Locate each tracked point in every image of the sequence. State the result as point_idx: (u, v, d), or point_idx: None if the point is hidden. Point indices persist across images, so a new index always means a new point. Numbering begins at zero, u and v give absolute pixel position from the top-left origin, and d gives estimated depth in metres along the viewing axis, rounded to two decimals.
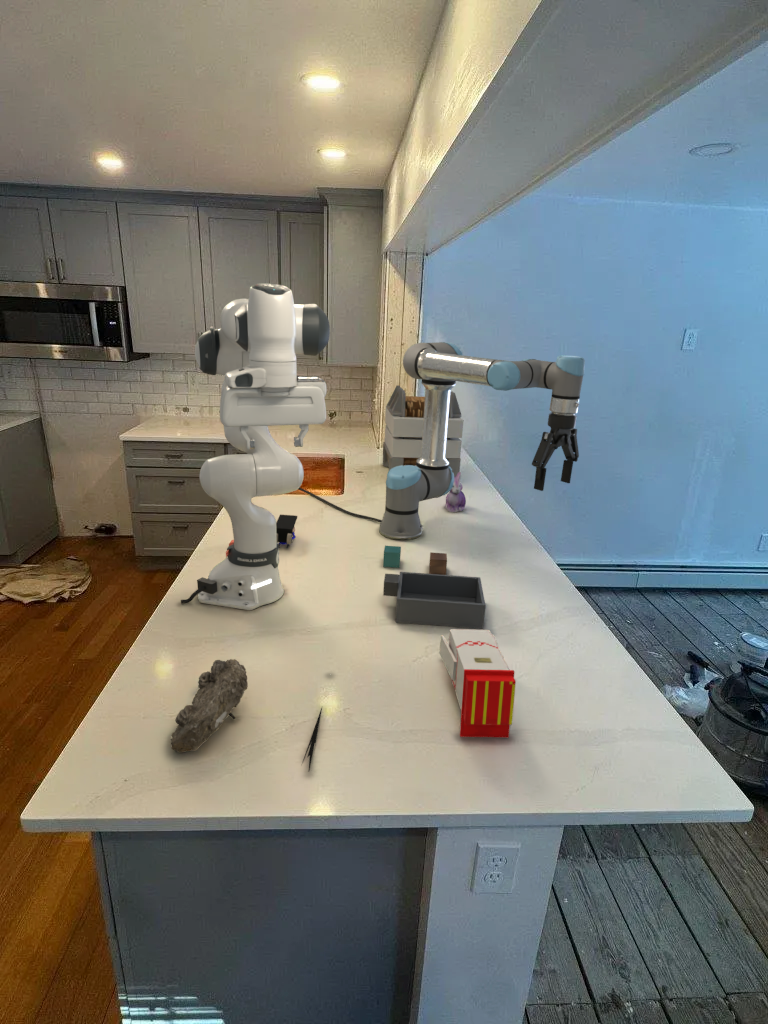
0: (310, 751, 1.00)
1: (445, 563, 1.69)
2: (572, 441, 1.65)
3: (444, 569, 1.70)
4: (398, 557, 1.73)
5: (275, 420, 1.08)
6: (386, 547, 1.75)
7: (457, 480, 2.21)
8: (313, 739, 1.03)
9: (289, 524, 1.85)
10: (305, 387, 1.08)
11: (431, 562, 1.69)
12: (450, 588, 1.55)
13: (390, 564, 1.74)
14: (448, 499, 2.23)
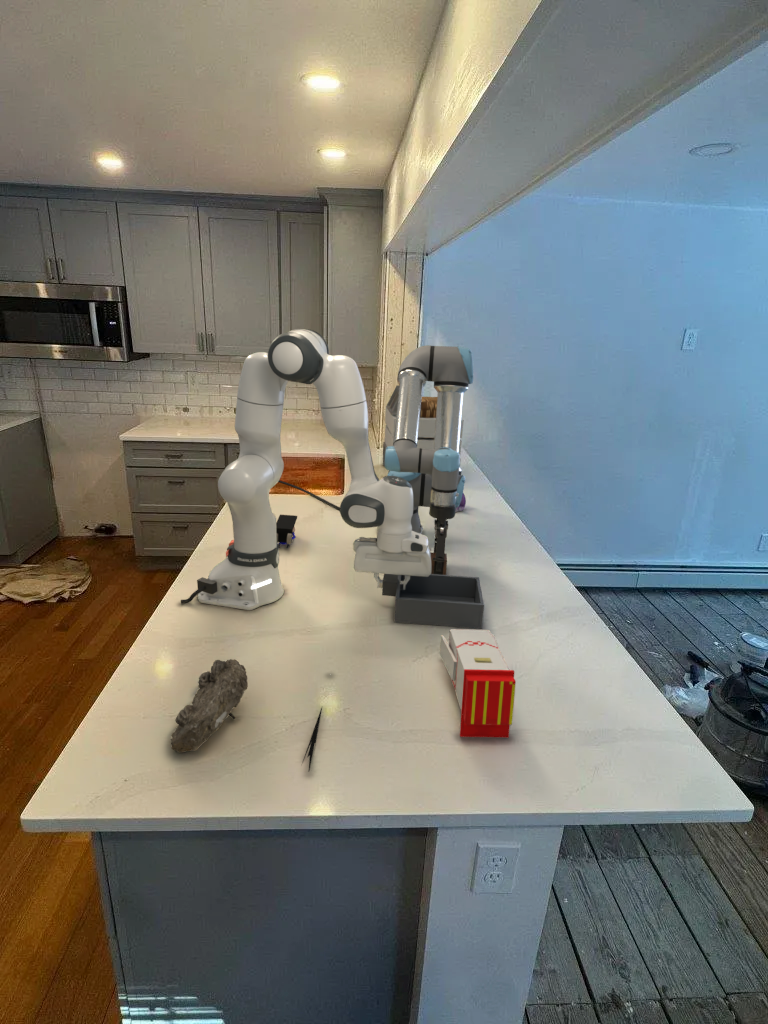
0: (310, 751, 1.00)
1: (445, 563, 1.69)
2: None
3: (444, 569, 1.70)
4: None
5: None
6: None
7: None
8: (313, 739, 1.03)
9: (289, 524, 1.85)
10: None
11: (431, 562, 1.69)
12: (449, 588, 1.56)
13: None
14: None
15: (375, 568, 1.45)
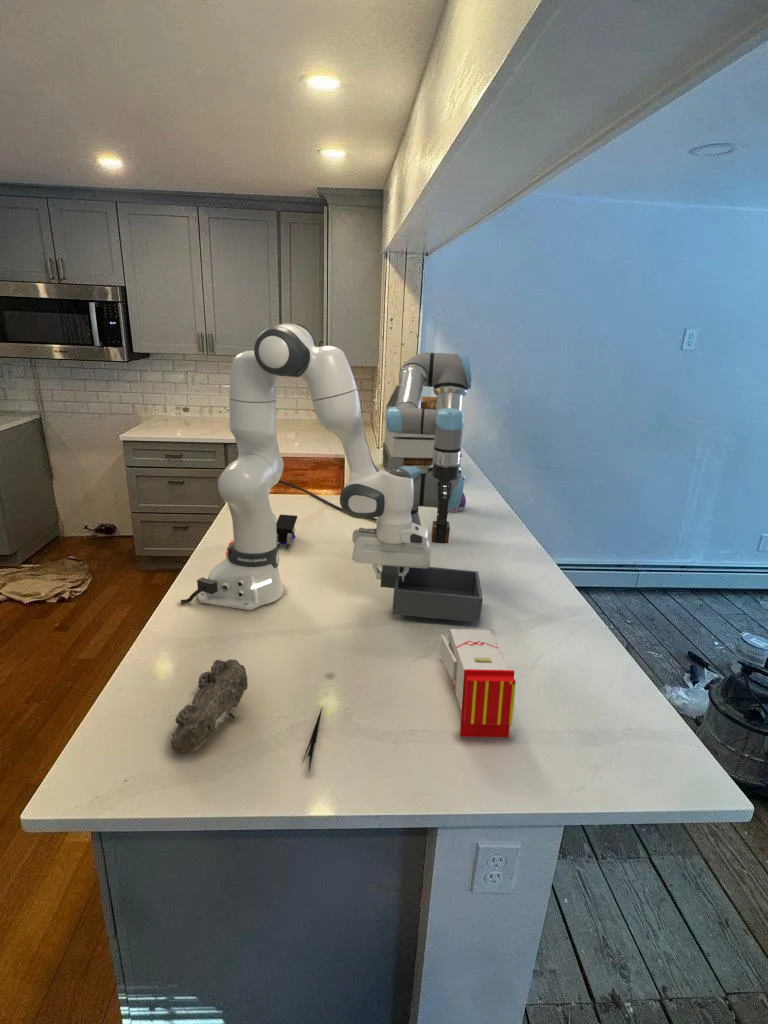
0: (310, 751, 1.00)
1: (448, 531, 1.66)
2: None
3: (447, 537, 1.67)
4: None
5: None
6: None
7: None
8: (313, 739, 1.03)
9: (289, 524, 1.85)
10: None
11: (433, 530, 1.66)
12: (447, 581, 1.55)
13: None
14: None
15: (374, 559, 1.45)
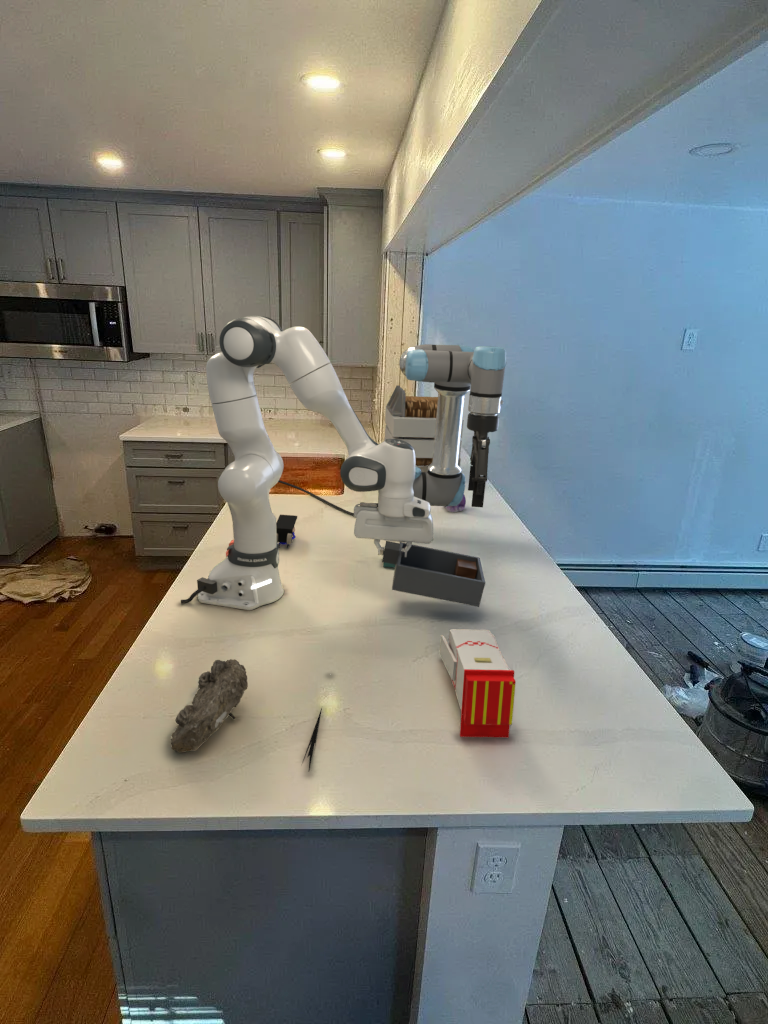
0: (310, 751, 1.00)
1: (474, 573, 1.47)
2: None
3: None
4: None
5: None
6: None
7: None
8: (313, 739, 1.03)
9: (289, 524, 1.85)
10: None
11: (459, 570, 1.47)
12: (448, 565, 1.53)
13: (390, 564, 1.74)
14: None
15: (376, 534, 1.42)
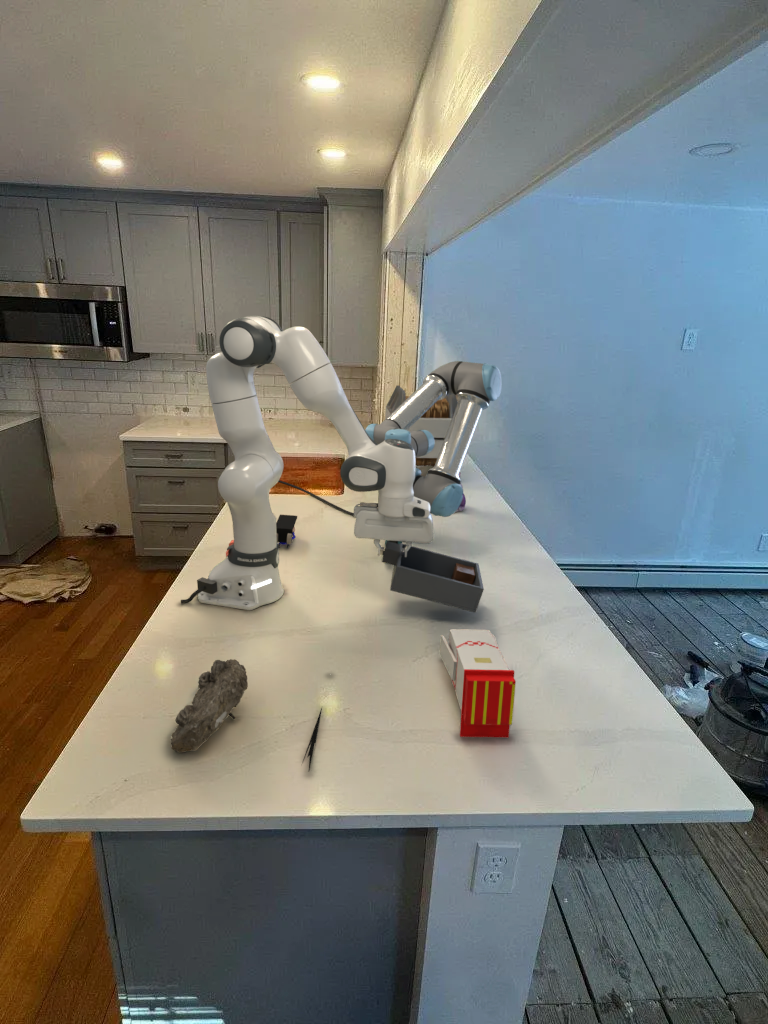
0: (310, 751, 1.00)
1: (472, 578, 1.48)
2: None
3: None
4: None
5: None
6: None
7: None
8: (313, 739, 1.03)
9: (289, 524, 1.85)
10: None
11: (457, 574, 1.48)
12: (446, 569, 1.54)
13: None
14: None
15: (376, 534, 1.42)
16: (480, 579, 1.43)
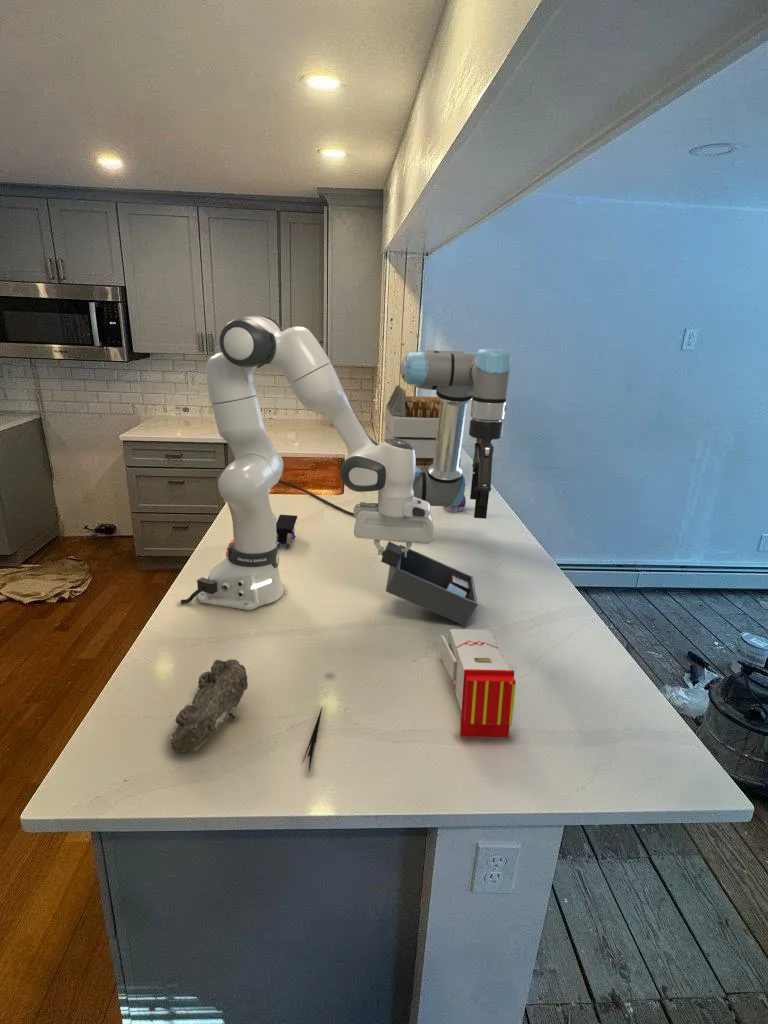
0: (310, 751, 1.00)
1: (466, 591, 1.49)
2: None
3: None
4: None
5: None
6: None
7: None
8: (313, 739, 1.03)
9: (289, 524, 1.85)
10: None
11: None
12: (441, 577, 1.55)
13: None
14: None
15: (376, 534, 1.42)
16: (474, 593, 1.45)
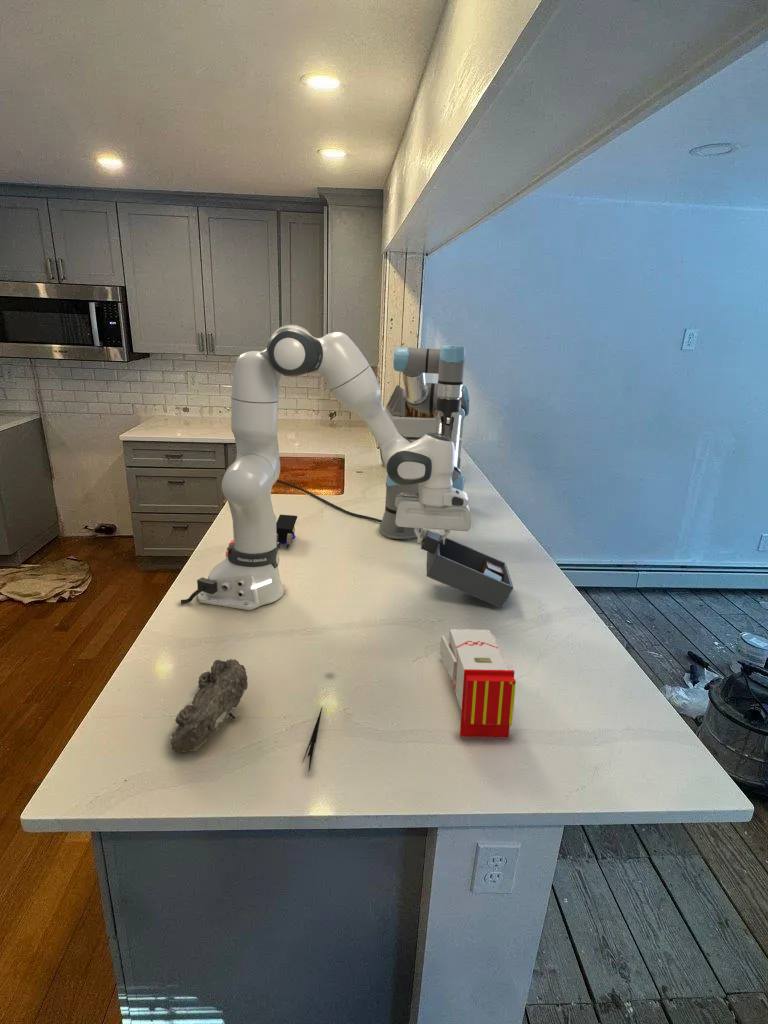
0: (310, 751, 1.00)
1: (501, 576, 1.58)
2: None
3: None
4: None
5: None
6: None
7: None
8: (313, 739, 1.03)
9: (289, 524, 1.85)
10: None
11: None
12: (476, 563, 1.63)
13: None
14: None
15: (417, 523, 1.51)
16: (509, 578, 1.53)
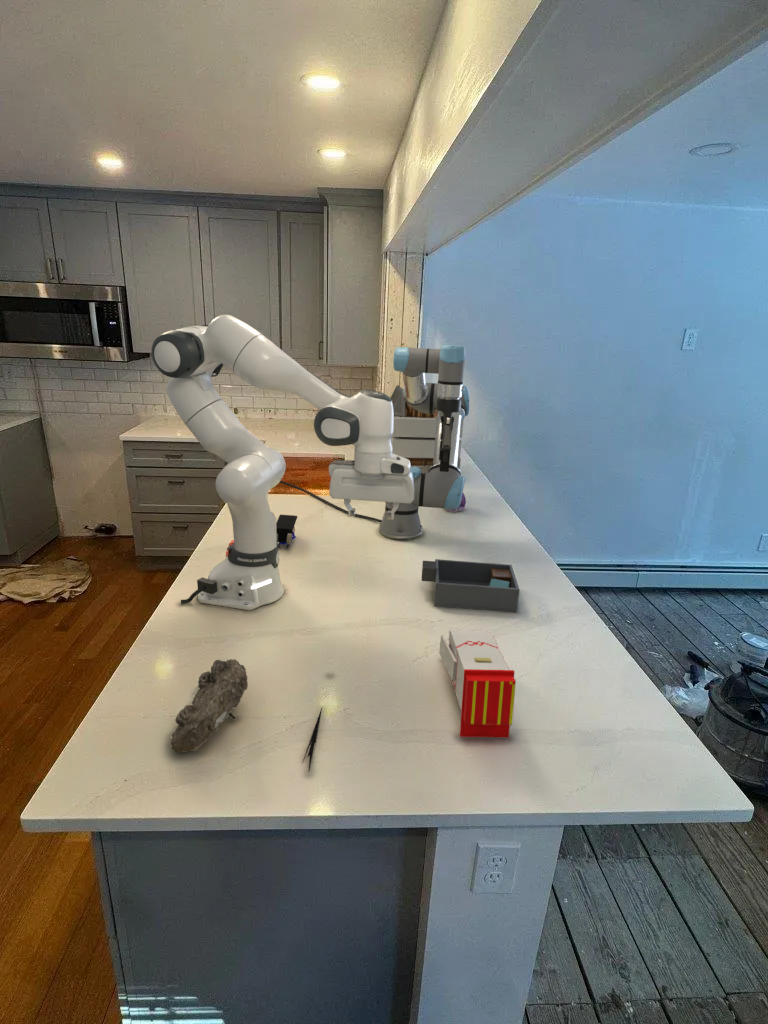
0: (310, 751, 1.00)
1: (509, 580, 1.58)
2: None
3: None
4: None
5: None
6: None
7: None
8: (313, 739, 1.03)
9: (289, 524, 1.85)
10: None
11: None
12: (483, 575, 1.64)
13: None
14: None
15: (353, 494, 1.33)
16: (515, 580, 1.54)
